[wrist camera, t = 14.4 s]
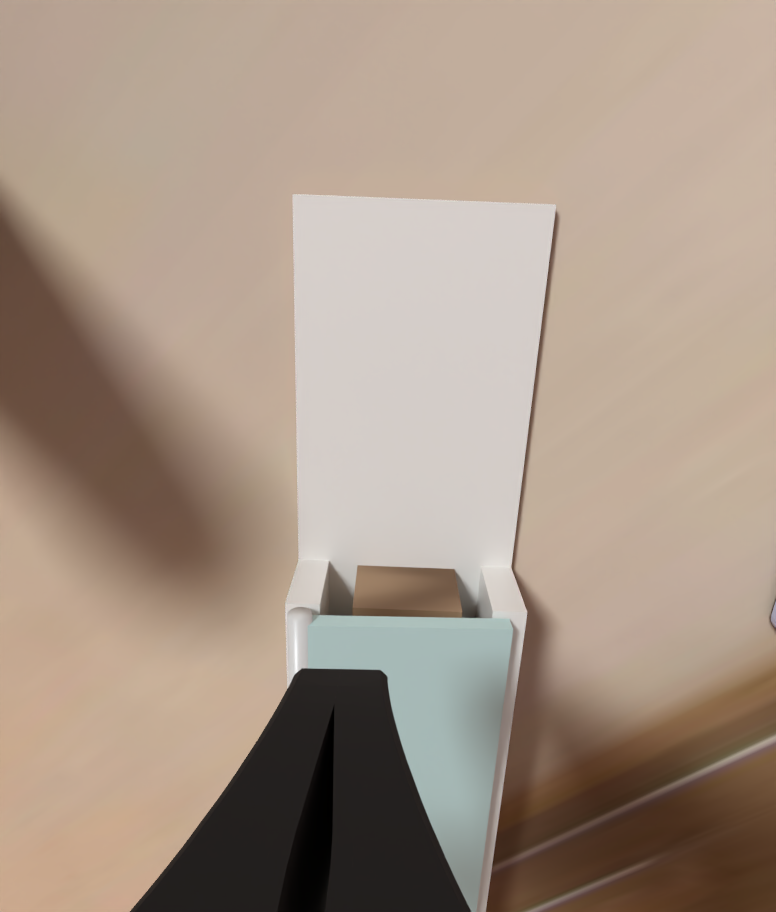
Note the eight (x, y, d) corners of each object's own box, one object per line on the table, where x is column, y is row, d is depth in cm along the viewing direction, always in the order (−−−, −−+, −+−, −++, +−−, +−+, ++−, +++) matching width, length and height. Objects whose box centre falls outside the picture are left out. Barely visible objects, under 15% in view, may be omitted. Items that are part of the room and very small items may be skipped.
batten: (454, 569, 19) (462, 611, 17) (438, 754, 22) (443, 813, 20) (357, 565, 19) (352, 607, 17) (353, 751, 22) (348, 809, 20)
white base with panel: (553, 205, 16) (585, 196, 13) (471, 875, 24) (480, 951, 22) (294, 195, 16) (274, 184, 13) (304, 869, 24) (294, 944, 22)
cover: (509, 610, 17) (514, 625, 16) (468, 931, 22) (471, 953, 21) (289, 606, 17) (285, 621, 16) (296, 931, 21) (294, 953, 21)
